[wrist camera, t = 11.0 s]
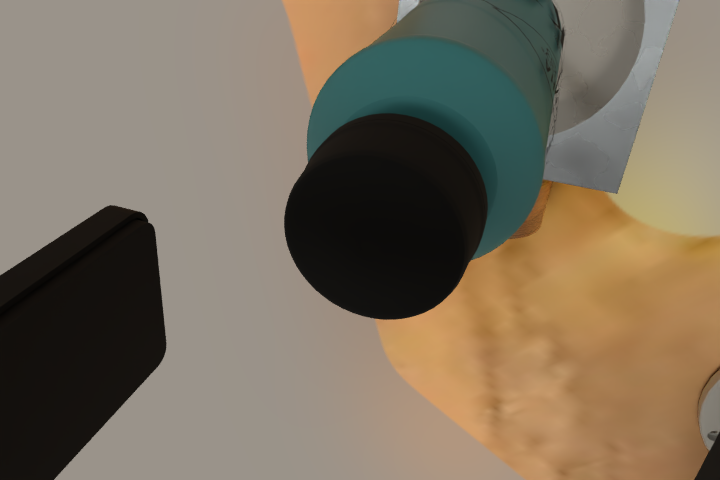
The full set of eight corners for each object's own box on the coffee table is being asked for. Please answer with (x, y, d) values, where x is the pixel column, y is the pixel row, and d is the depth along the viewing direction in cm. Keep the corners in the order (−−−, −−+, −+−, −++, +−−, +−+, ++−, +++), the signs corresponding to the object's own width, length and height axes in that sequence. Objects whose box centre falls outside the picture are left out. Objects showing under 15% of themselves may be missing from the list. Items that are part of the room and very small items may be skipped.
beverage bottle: (445, 118, 32) (289, 392, 15) (405, -19, 29) (165, 134, 13) (582, 84, 29) (573, 374, 12) (551, -69, 26) (489, 41, 10)
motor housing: (595, 211, 38) (595, 266, 33) (403, 172, 41) (374, 217, 36) (700, -134, 29) (725, -136, 24) (443, -156, 32) (412, -161, 26)
